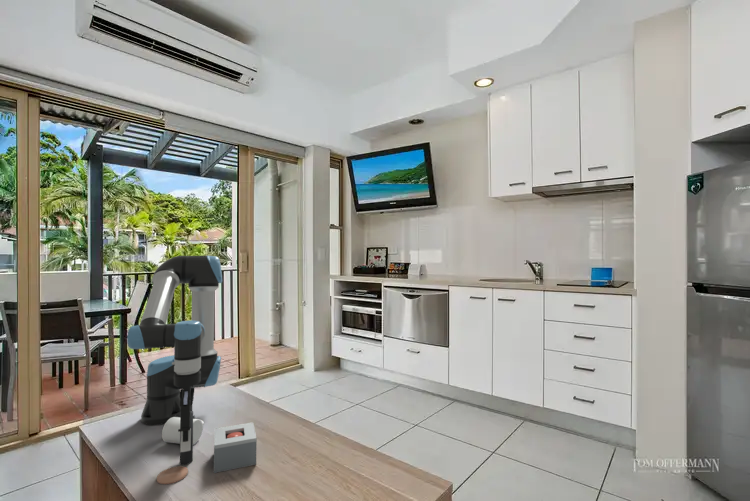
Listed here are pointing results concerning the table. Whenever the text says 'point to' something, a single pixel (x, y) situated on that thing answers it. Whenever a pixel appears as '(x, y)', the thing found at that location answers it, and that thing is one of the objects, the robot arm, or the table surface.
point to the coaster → (172, 475)
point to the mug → (173, 435)
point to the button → (234, 434)
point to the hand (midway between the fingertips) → (186, 445)
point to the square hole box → (234, 447)
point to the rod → (188, 455)
